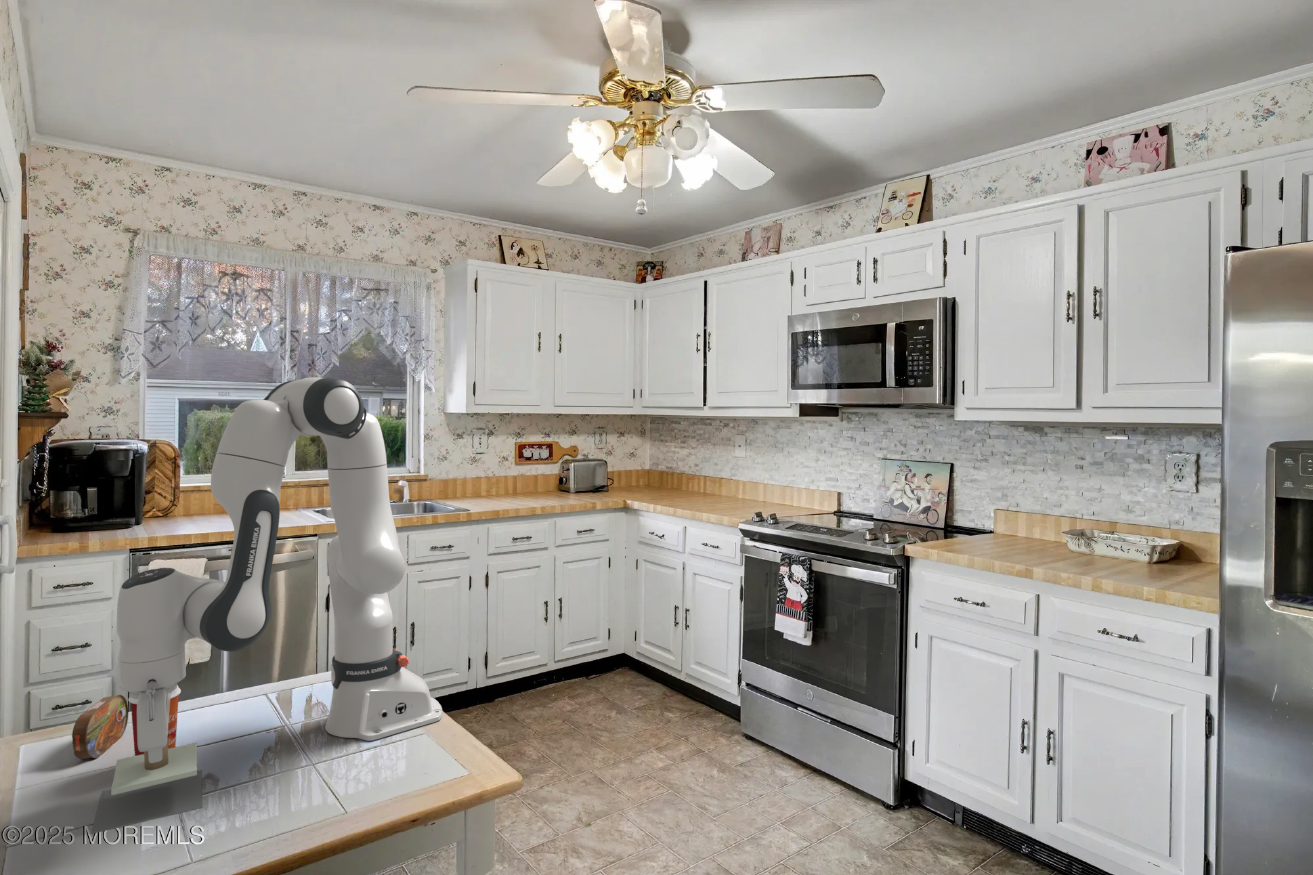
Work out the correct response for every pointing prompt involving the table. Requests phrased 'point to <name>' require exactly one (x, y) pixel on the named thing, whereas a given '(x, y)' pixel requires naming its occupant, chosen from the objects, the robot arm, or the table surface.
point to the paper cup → (171, 724)
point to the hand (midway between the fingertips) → (156, 754)
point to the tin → (100, 727)
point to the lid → (155, 768)
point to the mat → (148, 803)
